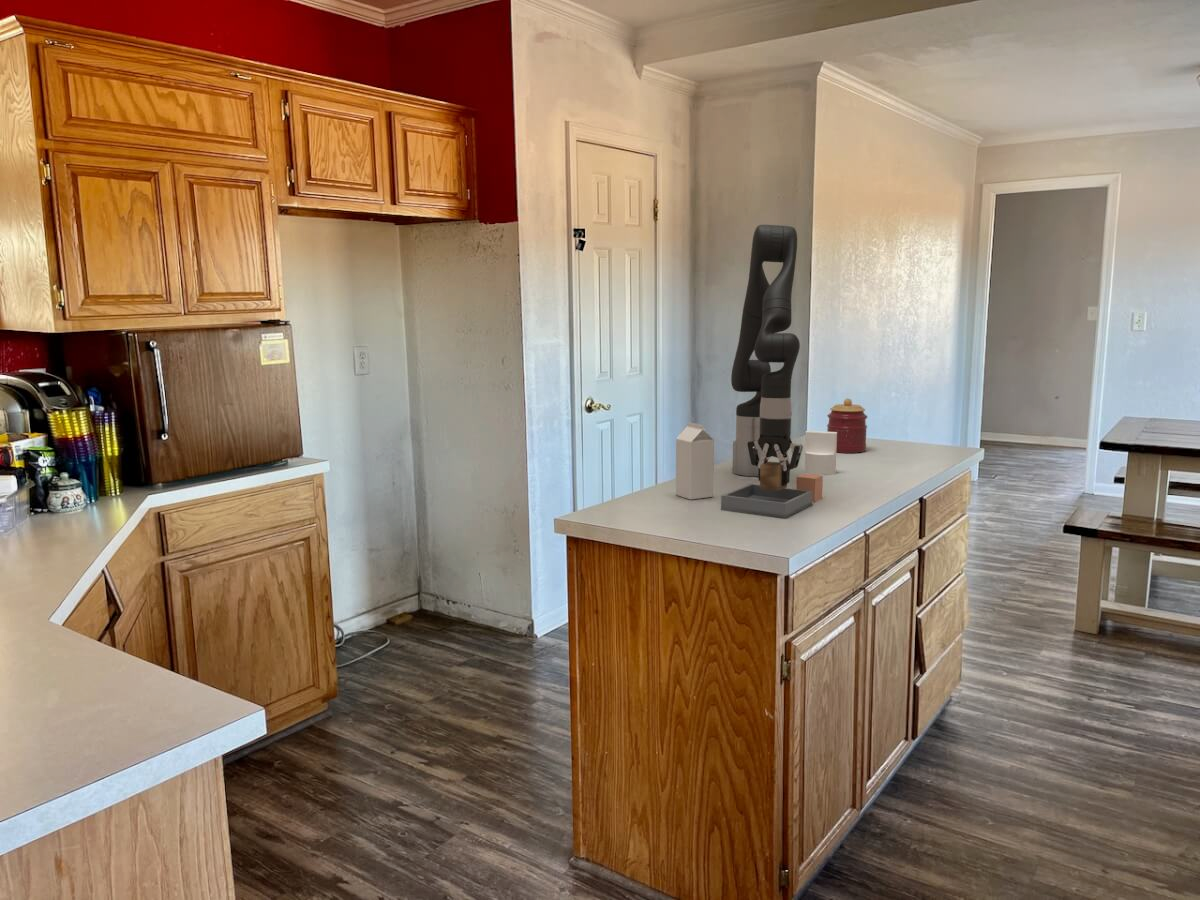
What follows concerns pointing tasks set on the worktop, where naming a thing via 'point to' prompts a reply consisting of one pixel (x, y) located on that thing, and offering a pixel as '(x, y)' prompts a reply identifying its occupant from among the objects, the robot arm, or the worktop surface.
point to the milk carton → (694, 463)
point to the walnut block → (771, 476)
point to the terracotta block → (811, 485)
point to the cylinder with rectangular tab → (820, 452)
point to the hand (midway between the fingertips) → (773, 483)
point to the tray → (766, 501)
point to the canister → (848, 427)
